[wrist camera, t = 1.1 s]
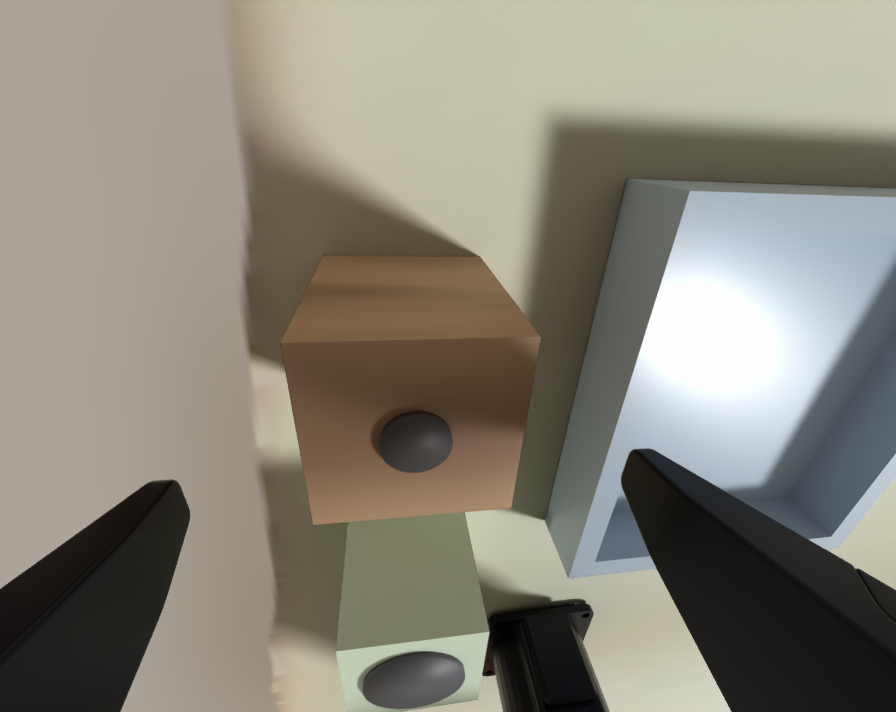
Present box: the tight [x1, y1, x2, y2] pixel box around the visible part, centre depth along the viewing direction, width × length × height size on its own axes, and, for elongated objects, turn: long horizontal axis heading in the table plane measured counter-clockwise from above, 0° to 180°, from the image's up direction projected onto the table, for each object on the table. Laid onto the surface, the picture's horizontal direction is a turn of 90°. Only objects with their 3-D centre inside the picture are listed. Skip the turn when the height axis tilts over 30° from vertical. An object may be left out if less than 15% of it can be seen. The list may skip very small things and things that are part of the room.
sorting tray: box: [545, 179, 896, 578], centre depth 16 cm, size 16×14×3 cm
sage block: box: [336, 512, 489, 712], centre depth 17 cm, size 5×5×6 cm
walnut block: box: [280, 256, 541, 525], centre depth 11 cm, size 5×5×6 cm
